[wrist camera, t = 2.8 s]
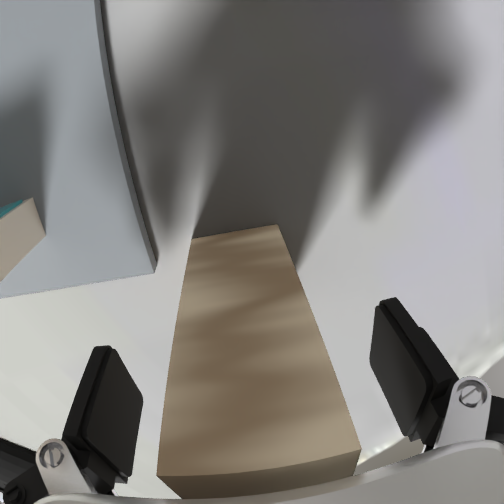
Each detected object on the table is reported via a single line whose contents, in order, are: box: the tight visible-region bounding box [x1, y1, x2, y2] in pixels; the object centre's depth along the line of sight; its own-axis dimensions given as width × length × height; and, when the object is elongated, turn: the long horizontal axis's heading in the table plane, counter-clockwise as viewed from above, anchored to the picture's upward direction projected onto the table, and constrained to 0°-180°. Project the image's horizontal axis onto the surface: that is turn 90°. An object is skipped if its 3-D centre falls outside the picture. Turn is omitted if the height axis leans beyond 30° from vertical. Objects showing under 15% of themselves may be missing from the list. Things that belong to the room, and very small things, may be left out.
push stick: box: [156, 224, 362, 499], centre depth 11 cm, size 4×4×11 cm
